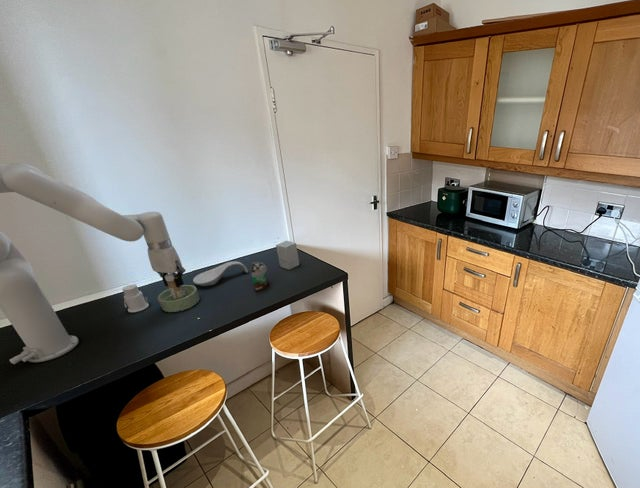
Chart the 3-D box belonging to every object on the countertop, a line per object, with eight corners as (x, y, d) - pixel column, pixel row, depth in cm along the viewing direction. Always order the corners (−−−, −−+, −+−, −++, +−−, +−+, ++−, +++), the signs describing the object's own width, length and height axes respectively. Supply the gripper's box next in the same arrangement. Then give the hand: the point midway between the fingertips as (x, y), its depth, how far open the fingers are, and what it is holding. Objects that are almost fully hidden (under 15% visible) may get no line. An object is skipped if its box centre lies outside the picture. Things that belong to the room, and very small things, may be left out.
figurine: (270, 290, 143) (266, 271, 139) (255, 292, 141) (251, 273, 137) (269, 278, 154) (265, 260, 149) (256, 280, 152) (251, 262, 147)
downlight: (153, 302, 134) (144, 281, 130) (146, 311, 128) (137, 290, 124) (130, 305, 132) (121, 284, 127) (123, 314, 126) (113, 293, 121)
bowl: (182, 314, 126) (178, 303, 123) (153, 311, 128) (149, 299, 126) (207, 297, 138) (203, 286, 135) (180, 294, 140) (176, 283, 138)
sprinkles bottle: (187, 303, 132) (177, 275, 126) (174, 306, 130) (164, 278, 124) (187, 298, 135) (177, 271, 130) (174, 301, 133) (164, 273, 127)
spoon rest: (199, 292, 142) (194, 278, 138) (191, 283, 149) (187, 270, 146) (251, 275, 157) (248, 262, 154) (242, 267, 164) (239, 255, 161)
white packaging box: (300, 264, 168) (296, 242, 162) (288, 270, 162) (284, 247, 156) (290, 261, 171) (287, 240, 166) (279, 266, 165) (275, 244, 160)
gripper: (132, 246, 119) (149, 287, 127) (170, 249, 116) (185, 291, 124) (149, 239, 125) (164, 279, 134) (186, 242, 123) (199, 282, 131)
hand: (174, 284), depth 129 cm, fingers closed on sprinkles bottle, 4 cm apart
